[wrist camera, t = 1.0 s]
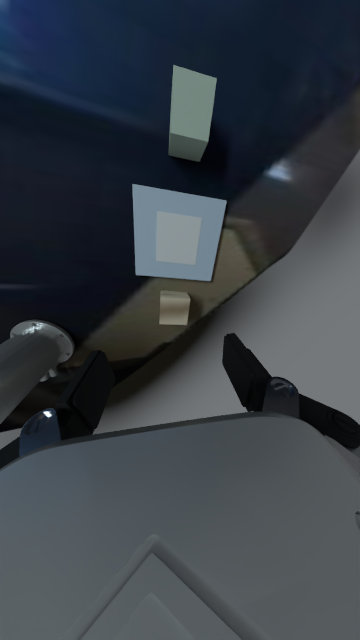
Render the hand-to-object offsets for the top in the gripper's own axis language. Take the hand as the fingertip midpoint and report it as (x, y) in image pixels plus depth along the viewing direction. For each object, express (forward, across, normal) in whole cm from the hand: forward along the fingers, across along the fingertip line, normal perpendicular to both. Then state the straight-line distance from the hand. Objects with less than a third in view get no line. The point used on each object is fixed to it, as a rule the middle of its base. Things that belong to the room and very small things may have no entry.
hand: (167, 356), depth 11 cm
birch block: (+23, -1, +5) cm, 24 cm away
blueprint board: (+23, -3, -8) cm, 25 cm away
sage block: (+23, -6, -22) cm, 33 cm away
